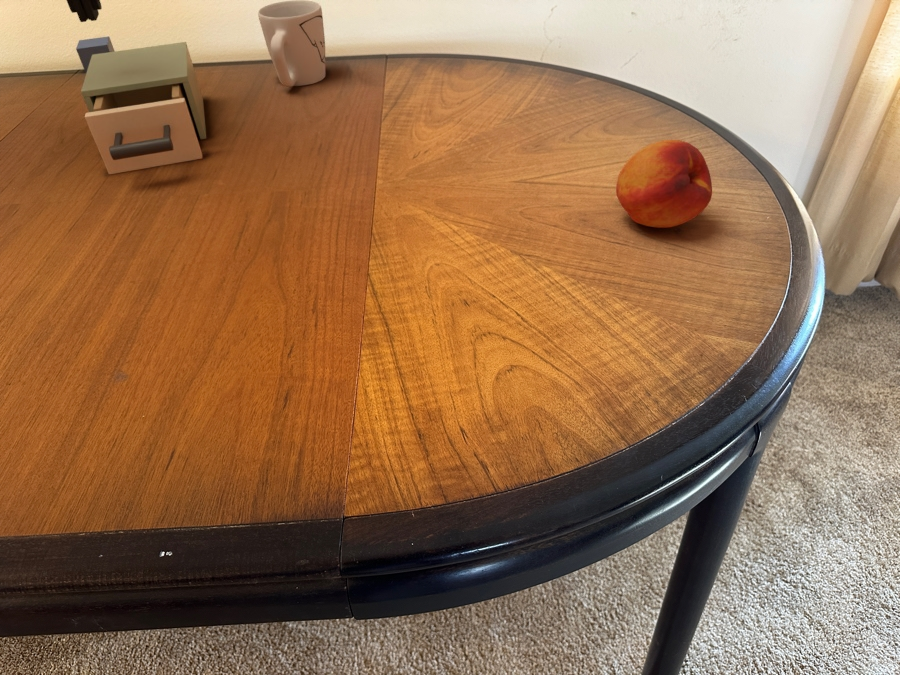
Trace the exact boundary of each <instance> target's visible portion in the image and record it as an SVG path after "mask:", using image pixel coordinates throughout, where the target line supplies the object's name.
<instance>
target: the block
mask: <svg viewBox="0 0 900 675" xmlns="http://www.w3.org/2000/svg"><path fill="white" fill-rule="evenodd" d="M75 50H76V53H77V55H78V58H79V60H80V62H81V65H82V68H83V70H84V72H85V73H87V70H88V67H89V63H90V60H91V57H92V55H93V54H101V53H108V52H115V51H116V50H115V48H114V45H113V42H112V40H111V37H110V36H101V37H93V38H86V39H78V42H77V45H76V48H75Z"/></svg>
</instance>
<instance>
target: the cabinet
mask: <svg viewBox="0 0 900 675" xmlns="http://www.w3.org/2000/svg"><path fill="white" fill-rule="evenodd" d="M114 51H115V52H108V53H101V54H93V55H92V57H91V60H90V63H89V67H88V70H87V72H85V73H86V74H85V77H84V80H83V83H82V87H81V89H80V93H81V97H82V99H83V101H84V104H85V106H86V108H87V110H88V112H94V110H93V108H94V104H95V100H96V96H97V95H103V94H110V93H117V92H124V91H130V90H137V89H144V88H150V87H157V86H164V85H171V84H177V83H183V85H184V88H185V92H186V95H187V98H188V101H189V104H190V108H191V111H192V114H193V117H194V120H195V128H196V130H197V133H198V136H199V140H204V139H207V130H206V129H207V128H206V117H205V106H204V105H205V104H204V97H203V95H202V91H201V87H200V85H199V81H198V77H197V74H196V71H195V67H194V64H193V60H192V57H191V54H190V50H189V48H188V44H187V42H186V41H182V42H174V43H167V44H166V43H165V44H160V45H159V44H158V45H152V46H146V47H139V48H131V49H123V50H114Z"/></svg>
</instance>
